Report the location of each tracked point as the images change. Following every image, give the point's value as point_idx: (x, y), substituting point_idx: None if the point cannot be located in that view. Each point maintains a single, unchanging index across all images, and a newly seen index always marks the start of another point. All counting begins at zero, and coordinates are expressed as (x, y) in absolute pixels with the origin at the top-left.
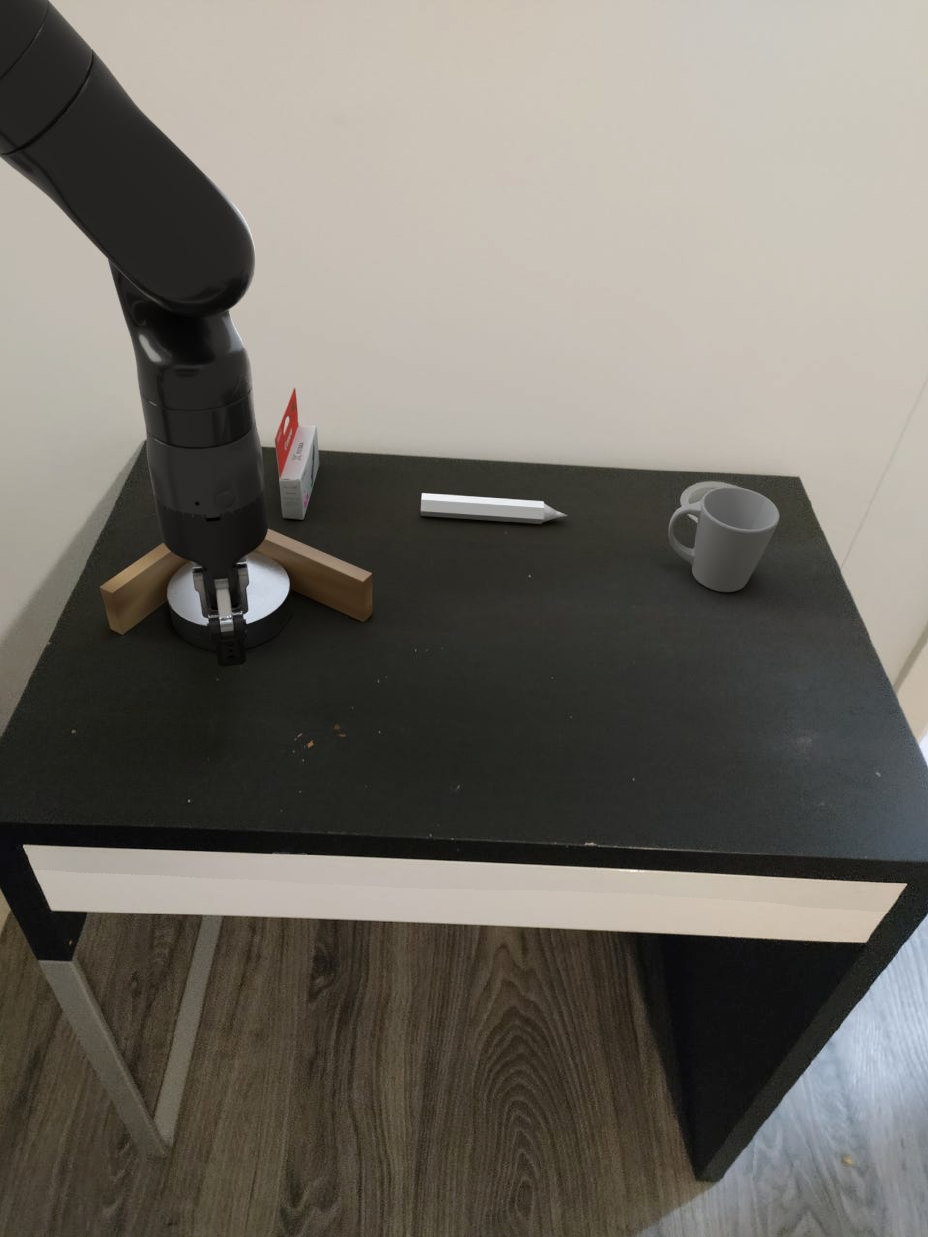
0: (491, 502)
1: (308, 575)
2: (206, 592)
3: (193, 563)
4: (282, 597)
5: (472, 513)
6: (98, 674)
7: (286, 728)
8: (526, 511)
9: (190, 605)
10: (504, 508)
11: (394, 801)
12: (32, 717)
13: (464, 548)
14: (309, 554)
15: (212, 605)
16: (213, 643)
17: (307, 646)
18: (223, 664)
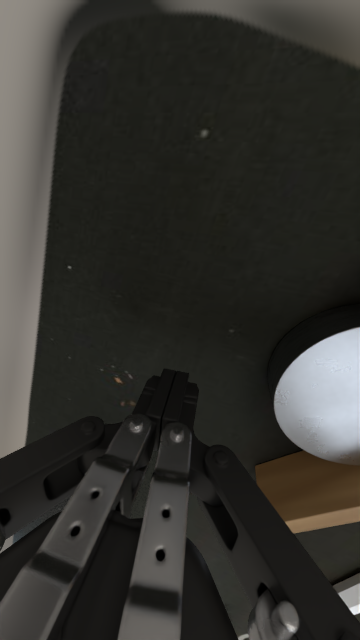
0: (351, 609)
1: (331, 477)
2: (108, 522)
3: (120, 635)
4: (303, 446)
5: (352, 588)
6: (313, 180)
7: (140, 369)
8: None
9: (356, 350)
10: None
11: (54, 409)
12: (260, 51)
13: (314, 554)
14: (348, 513)
15: (44, 521)
16: (57, 431)
17: (244, 418)
18: (150, 378)
